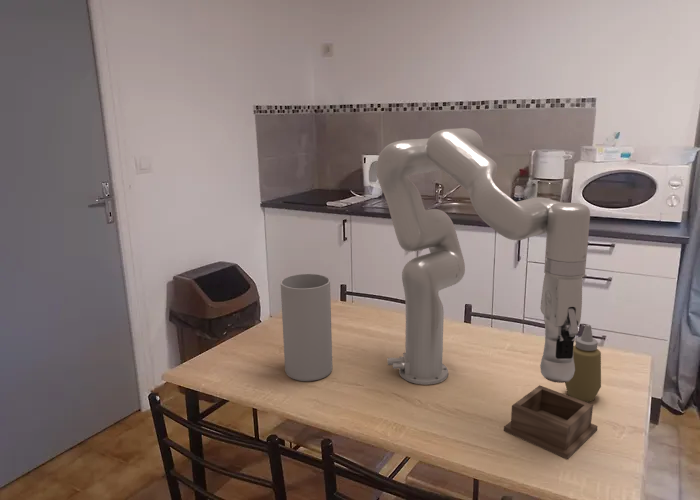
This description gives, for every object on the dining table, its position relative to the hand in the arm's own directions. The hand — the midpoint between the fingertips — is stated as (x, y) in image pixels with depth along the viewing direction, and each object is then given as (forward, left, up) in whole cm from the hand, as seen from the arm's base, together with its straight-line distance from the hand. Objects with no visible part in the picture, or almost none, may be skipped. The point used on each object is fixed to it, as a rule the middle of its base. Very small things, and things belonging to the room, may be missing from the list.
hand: (558, 350), depth 112 cm
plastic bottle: (0, 0, -7) cm, 7 cm away
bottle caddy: (0, 0, -19) cm, 19 cm away
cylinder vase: (-54, +28, -19) cm, 64 cm away
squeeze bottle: (+12, +14, -19) cm, 26 cm away
